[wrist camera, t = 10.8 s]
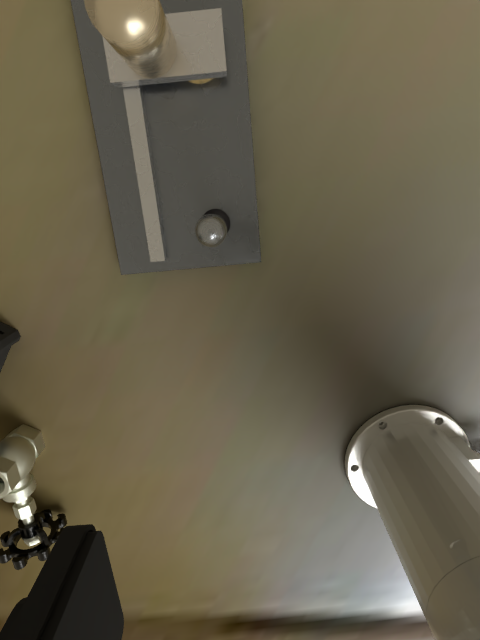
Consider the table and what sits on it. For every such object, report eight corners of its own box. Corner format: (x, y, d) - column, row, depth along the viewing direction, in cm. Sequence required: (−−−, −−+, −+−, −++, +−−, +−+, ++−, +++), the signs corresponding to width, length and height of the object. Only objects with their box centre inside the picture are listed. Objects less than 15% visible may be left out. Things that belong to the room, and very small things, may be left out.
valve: (-10, 424, 40) (20, 517, 44) (-55, 467, 34) (-17, 572, 38) (55, 419, 40) (79, 514, 44) (21, 461, 34) (52, 567, 38)
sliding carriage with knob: (222, 21, 28) (215, -56, 19) (227, 79, 29) (222, 31, 20) (110, 33, 28) (52, -38, 19) (119, 90, 29) (68, 47, 20)
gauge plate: (236, -65, 28) (235, -170, 20) (260, 259, 35) (266, 279, 27) (68, -47, 28) (0, -143, 20) (126, 271, 35) (92, 295, 27)
